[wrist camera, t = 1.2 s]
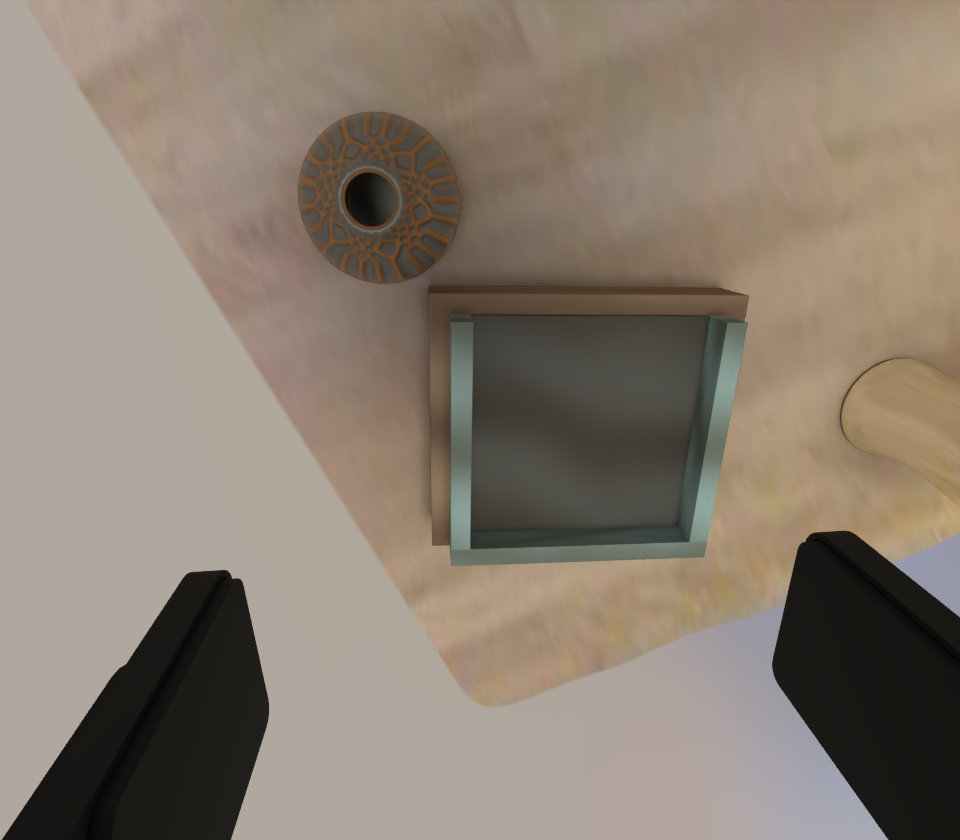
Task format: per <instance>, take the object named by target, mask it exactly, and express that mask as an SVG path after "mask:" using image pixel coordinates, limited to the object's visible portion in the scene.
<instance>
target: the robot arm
mask: <svg viewBox="0 0 960 840" xmlns="http://www.w3.org/2000/svg"><path fill="white" fill-rule="evenodd" d="M772 668H773V673H774V676H775V679H776V681H777V683H778V685H779V686H780V688H781V689H782V691H783V692H784V693H785V695H786V696H787V697H788V699H789V700H790V701H791V703H792V705H793V706H794V708H795V709H796V710H797V712H798V713H799V714H800V716H801V717H802V719H803V720H804V721H805V723H806V724H807V726H808V727H809V729H810V730H811V731H812V733H813V734H814V736H815V737H816V738H817V740H818V741H819V743H820V744H821V745H822V747H823V748H824V750H825V751H826V753H827V754H828V755H829V757H830V758H831V759H832V761H833V762H834V764H835V765H836V767H837V768H838V769H839V771H840V772H841V774H842V775H843V776H844V778H845V779H846V781H847V782H848V784H849V785H850V786H851V788H852V789H853V790H854V792H855V793H856V795H857V796H858V798H859V799H860V800H861V802H862V803H863V804H864V806H865V807H866V809H867V810H868V812H869V813H870V814H871V816H872V817H873V819H874V820H875V821H876V823H877V824H878V825H879V827H880V828H881V830H882V831H883V833H884V834H885V836H886V837H887V838H888V840H960V617H959V616H957V615H956V614H955V613H954V612H952V611H951V610H950V609H949V608H947V607H946V606H945V605H943V604H942V603H941V602H940V601H939V600H937V599H936V598H935V597H934V596H932V595H931V594H930V593H928V592H927V591H926V590H925V589H923V588H922V587H921V586H920V585H918V584H917V583H916V582H915V581H913V580H912V579H911V578H910V577H908V576H907V575H906V574H905V573H903V572H902V571H901V570H899V569H898V568H897V567H896V566H894V565H893V564H892V563H891V562H889V561H888V560H887V559H886V558H884V557H883V556H882V555H881V554H879V553H878V552H877V551H876V550H874V549H873V548H872V547H871V546H869V545H868V544H867V543H866V542H864V541H863V540H862V539H860V538H859V537H858V536H857V535H855V534H854V533H852V532H850V531H833V532H817V533H813V534H810V535H809V536H808V538H807V539H806V542H803V543H801V544H800V545H799V548H798V550H797V555H796V559H795V564H794V568H793V572H792V577H791V581H790V586H789V590H788V594H787V599H786V603H785V608H784V612H783V617H782V621H781V626H780V630H779V634H778V639H777V643H776V647H775V652H774V656H773V662H772ZM268 717H269V701H268V696H267V691H266V687H265V682H264V677H263V673H262V668H261V664H260V659H259V655H258V650H257V645H256V641H255V636H254V631H253V627H252V622H251V618H250V613H249V608H248V604H247V599H246V595H245V590H244V586H243V583H242V581H241V579H232V577H231V574H230V573H229V572H228V571H226V570H219V571H218V570H217V571H202V572H190V573H188V574H187V575H185V577H184V578H183V579H182V581H181V582H180V584H179V585H178V587H177V588H176V590H175V592H174V593H173V594H172V596H171V598H170V599H169V600H168V602H167V603H166V605H165V606H164V608H163V610H162V611H161V613H160V614H159V616H158V617H157V618H156V620H155V621H154V623H153V625H152V626H151V628H150V629H149V631H148V632H147V634H146V635H145V637H144V638H143V640H142V641H141V643H140V644H139V646H138V647H137V649H136V650H135V652H134V653H133V655H132V656H131V658H130V659H129V661H128V662H127V664H126V665H124V666H123V667H121V668H119V669H118V671H117V672H116V673H115V674H114V675H113V676H112V677H111V679H110V680H109V682H108V683H107V685H106V686H105V688H104V690H103V691H102V693H101V694H100V695H99V697H98V698H97V700H96V701H95V703H94V704H93V706H92V707H91V709H90V710H89V711H88V713H87V714H86V716H85V717H84V719H83V720H82V722H81V724H80V725H79V727H78V728H77V729H76V731H75V732H74V734H73V735H72V737H71V738H70V740H69V741H68V743H67V744H66V746H65V747H64V749H63V750H62V751H61V753H60V755H59V756H58V758H57V759H56V760H55V762H54V764H53V765H52V766H51V768H50V769H49V771H48V772H47V774H46V775H45V777H44V778H43V780H42V781H41V783H40V784H39V786H38V787H37V789H36V790H35V791H34V793H33V794H32V796H31V798H30V799H29V800H28V802H27V804H26V805H25V806H24V808H23V809H22V811H21V812H20V814H19V815H18V817H17V818H16V820H15V821H14V823H13V824H12V826H11V827H10V829H9V830H8V832H7V833H6V835H5V836H4V837H3V839H2V840H231V837H232V834H233V831H234V828H235V825H236V822H237V818H238V815H239V812H240V809H241V806H242V803H243V800H244V796H245V793H246V790H247V787H248V784H249V780H250V778H251V774H252V771H253V768H254V765H255V762H256V759H257V755H258V752H259V749H260V746H261V743H262V739H263V737H264V733H265V730H266V727H267V723H268Z"/></svg>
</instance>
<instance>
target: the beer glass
mask: <svg viewBox="0 0 960 840" xmlns="http://www.w3.org/2000/svg"><path fill="white" fill-rule="evenodd" d="M841 424H842V429H843V432H844V434H845V436H846V437H847V439H848V440H849V441H850V442H851V443H852V444H853V445H854V446H856V447H857V448H859V449H861V450H863V451H865V452H868V453H871V454H875V455H878V456H881V457H885V458H888V459H891V460H894V461H897V462H899V463H901V464H903V465H905V466H907V467H909V468H911V469H912V470H914V471H915V472H917V473H918V474H919V475H921V476H922V477H923V478H924V479H926V480H927V481H928V482H929V483H931V484H932V485H933V486H934V487H935V488H937V489H938V490H939V491H940V492H941V493H943V494H944V495H945V496H946V497H947V498H949V499H950V500H951V501H952V502H954V503H955V504H956V505H957V506H959V507H960V381H957V380H954V379H952V378H950V377H948V376H946V375H944V374H943V373H941V372H939V371H938V370H936V369H934V368H932V367H931V366H929V365H927V364H925V363H923V362H920V361H918V360H914V359H906V358H899V359H892V360H888V361H885V362H883V363H880V364H878V365H876V366H874V367H873V368H871V369H870V370H868V371H867V372H866V373H864V374H863V375H862V376H861V377H860V378H859V379H858V380H857V381H856V382H855V384H854V385H853V386H852V388H851V389H850V391H849V393H848V394H847V396H846V398H845V401H844V404H843V407H842V412H841Z"/></svg>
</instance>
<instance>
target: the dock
mask: <svg viewBox="0 0 960 840" xmlns="http://www.w3.org/2000/svg"><path fill="white" fill-rule="evenodd" d="M748 299H749V296H748V295H745V294H741V293H737V292H733V291H729V290H725V289H722V288H652V287H532V286H429V354H430V428H431V503H432V546H438V545H450V556H451V566H469V565H497V564H525V563H554V562H582V561H610V560H638V559H666V558H694V557H704V555H705V549H706V544H707V539H708V533H709V528H710V523H711V517H712V512H713V506H714V501H715V496H716V490H717V485H718V480H719V474H720V469H721V464H722V458H723V453H724V448H725V442H726V437H727V432H728V426H729V421H730V416H731V410H732V405H733V400H734V394H735V389H736V383H737V378H738V373H739V367H740V362H741V357H742V351H743V346H744V341H745V335H746V330H747V325H748V323H746V322H744V321H745V316H746V310H747V305H748Z"/></svg>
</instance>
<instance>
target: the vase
mask: <svg viewBox="0 0 960 840" xmlns="http://www.w3.org/2000/svg"><path fill="white" fill-rule="evenodd" d="M298 201H299V208H300V213H301V217H302V220H303V223H304V226H305V228H306V231H307V233H308V235H309V237H310V238H311V240H312V242H313V243H314V245H315V246H316V248H317V249H318V250H319V252H320V253H321V254H322V255H323V256H324V257H325V258H326V259H327V260H328V261H329V262H330V263H331V264H333V265H334V266H335V267H336V268H338V269H339V270H341V271H343V272H344V273H346V274H348V275H350V276H352V277H355V278H357V279H360V280H363V281H367V282H372V283H382V284H388V283H397V282H402V281H406V280H409V279H412V278H414V277H416V276H418V275H420V274H422V273H424V272H425V271H427V270H428V269H429V268H431V267H432V266H433V265H434V264H435V263H436V262H437V261H438V260H439V259H440V258H441V257H442V256H443V255H444V253H445V252H446V250H447V249H448V247H449V246H450V244H451V242H452V240H453V238H454V235H455V233H456V229H457V226H458V222H459V216H460V190H459V184H458V180H457V176H456V173H455V170H454V168H453V166H452V163H451V161H450V159H449V158H448V156H447V154H446V153H445V151H444V149H443V148H442V147H441V145H440V144H439V143H438V142H437V141H436V140H435V138H434V137H433V136H431V135H430V134H429V133H428V132H427V131H426V130H425V129H423V128H422V127H420V126H419V125H417V124H416V123H414V122H412V121H410V120H408V119H406V118H404V117H401V116H398V115H395V114H390V113H385V112H363V113H358V114H353V115H350V116H347V117H345V118H343V119H341V120H339V121H337V122H335V123H334V124H332V125H331V126H329V127H328V128H327V129H326V130H324V131H323V132H322V133H321V134H320V135H319V137H318V138H317V139H316V140H315V141H314V143H313V144H312V146H311V147H310V149H309V151H308V153H307V155H306V157H305V159H304V162H303V164H302V168H301V171H300V176H299V184H298Z"/></svg>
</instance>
